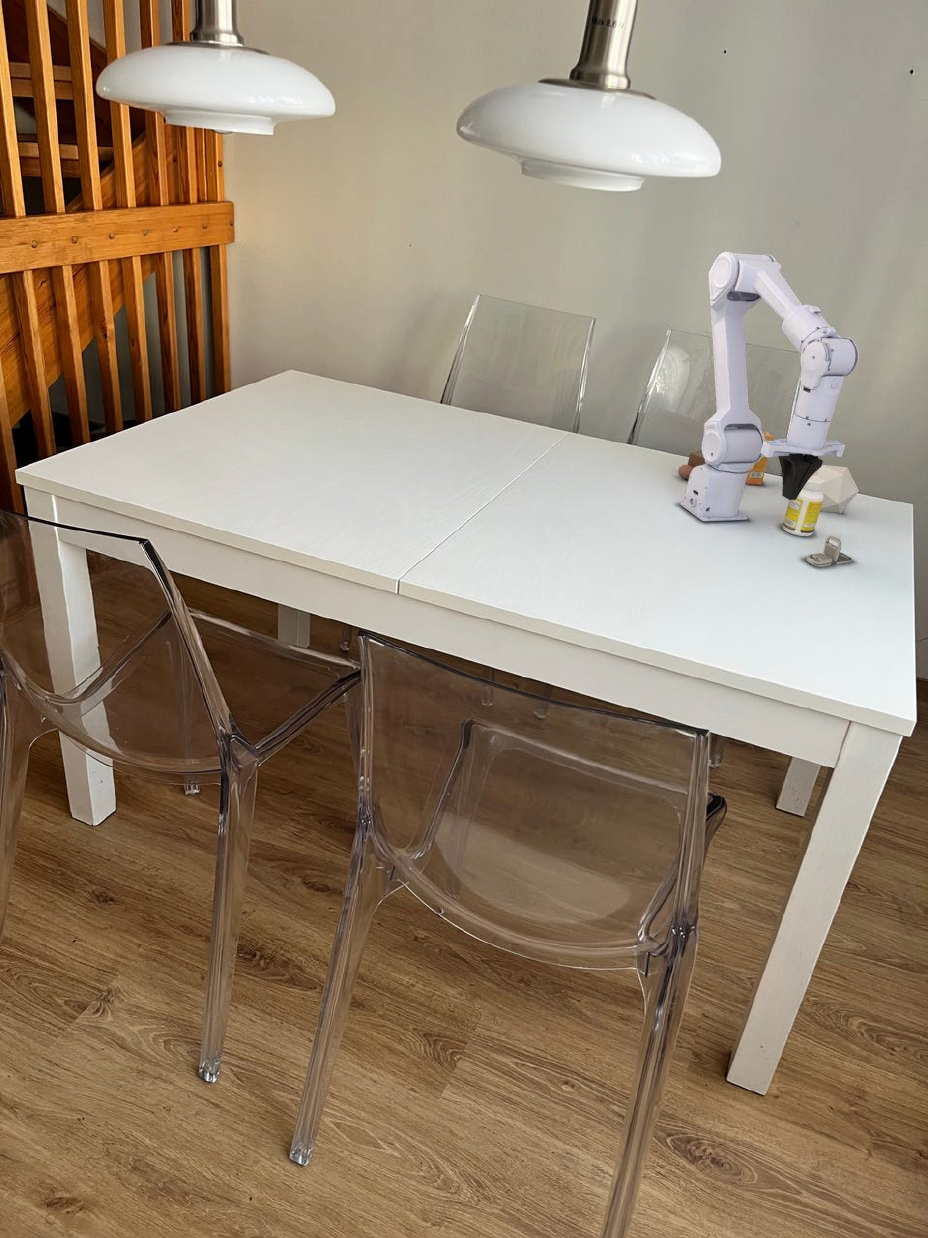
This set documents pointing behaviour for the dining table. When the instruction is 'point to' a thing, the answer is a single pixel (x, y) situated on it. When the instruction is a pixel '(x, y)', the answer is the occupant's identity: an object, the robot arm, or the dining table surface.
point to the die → (836, 488)
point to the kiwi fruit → (685, 471)
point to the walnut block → (696, 459)
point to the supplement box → (758, 467)
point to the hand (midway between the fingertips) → (789, 497)
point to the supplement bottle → (805, 508)
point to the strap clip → (828, 554)
